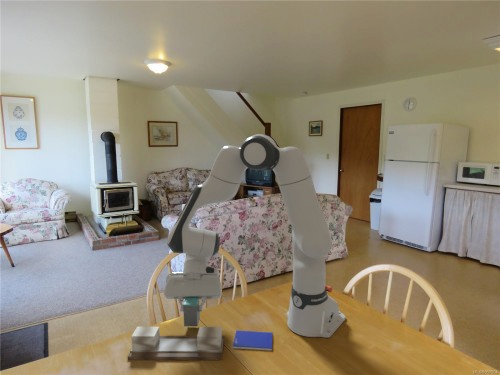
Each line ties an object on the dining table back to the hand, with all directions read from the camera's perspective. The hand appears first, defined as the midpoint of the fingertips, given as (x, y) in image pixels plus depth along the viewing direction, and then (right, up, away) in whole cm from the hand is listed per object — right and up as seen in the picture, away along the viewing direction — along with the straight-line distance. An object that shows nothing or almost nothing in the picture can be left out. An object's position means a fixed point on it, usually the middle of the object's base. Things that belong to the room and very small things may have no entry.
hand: (191, 311), depth 108 cm
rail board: (-2, -8, -9) cm, 13 cm away
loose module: (0, -4, +1) cm, 4 cm away
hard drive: (+21, -8, -5) cm, 23 cm away
